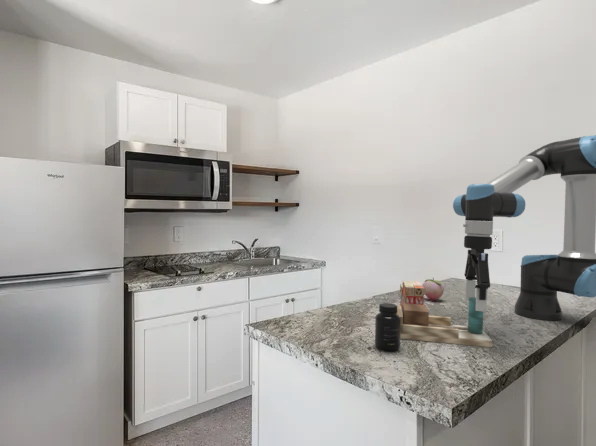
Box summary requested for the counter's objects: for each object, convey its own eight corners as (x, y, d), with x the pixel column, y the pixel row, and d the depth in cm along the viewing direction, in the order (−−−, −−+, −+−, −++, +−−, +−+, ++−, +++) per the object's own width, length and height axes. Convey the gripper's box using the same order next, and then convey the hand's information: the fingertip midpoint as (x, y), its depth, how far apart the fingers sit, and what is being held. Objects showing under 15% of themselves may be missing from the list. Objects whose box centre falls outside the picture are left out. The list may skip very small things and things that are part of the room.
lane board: (479, 331, 116) (480, 311, 116) (492, 347, 103) (493, 324, 102) (395, 324, 122) (396, 305, 122) (397, 338, 109) (397, 316, 108)
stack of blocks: (399, 306, 148) (400, 276, 147) (415, 307, 147) (416, 277, 146) (404, 321, 127) (405, 286, 127) (423, 322, 126) (424, 287, 125)
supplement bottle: (371, 343, 104) (372, 302, 103) (394, 343, 104) (395, 301, 104) (379, 352, 97) (380, 308, 97) (403, 352, 97) (405, 308, 97)
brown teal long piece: (478, 327, 114) (479, 296, 114) (486, 337, 105) (487, 302, 105) (402, 321, 119) (403, 291, 119) (404, 329, 110) (404, 297, 110)
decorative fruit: (448, 301, 158) (448, 278, 157) (436, 303, 153) (437, 280, 153) (429, 297, 165) (430, 275, 165) (418, 299, 161) (418, 276, 160)
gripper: (456, 233, 122) (454, 295, 123) (474, 236, 98) (471, 314, 98) (480, 234, 121) (478, 297, 121) (505, 238, 96) (501, 317, 97)
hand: (475, 305), depth 110 cm, fingers open, 13 cm apart
